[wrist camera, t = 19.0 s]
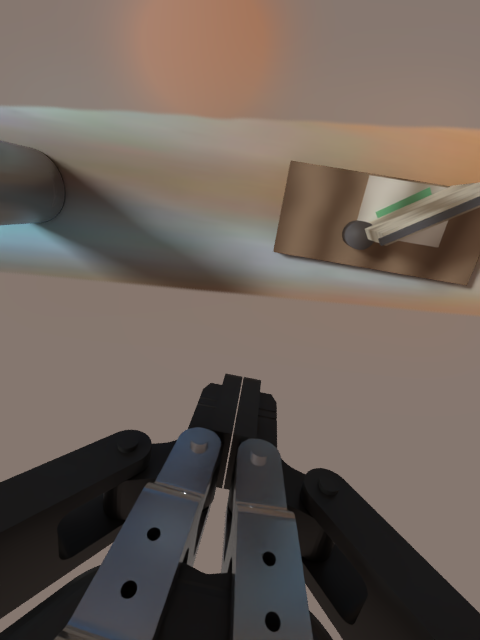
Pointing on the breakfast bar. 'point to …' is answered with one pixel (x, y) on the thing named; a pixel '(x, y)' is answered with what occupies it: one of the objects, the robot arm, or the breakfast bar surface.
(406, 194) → the brown rectangular board
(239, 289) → the breakfast bar surface
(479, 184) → the dark-edged wooden panel
